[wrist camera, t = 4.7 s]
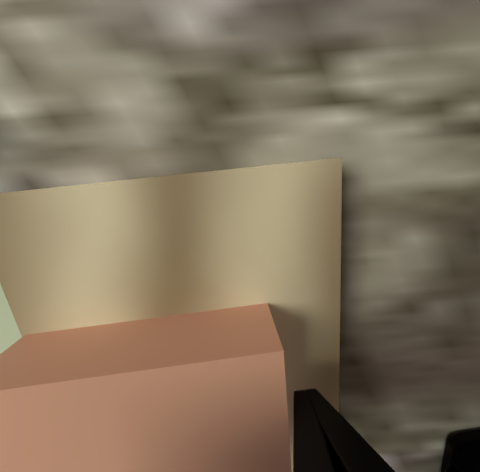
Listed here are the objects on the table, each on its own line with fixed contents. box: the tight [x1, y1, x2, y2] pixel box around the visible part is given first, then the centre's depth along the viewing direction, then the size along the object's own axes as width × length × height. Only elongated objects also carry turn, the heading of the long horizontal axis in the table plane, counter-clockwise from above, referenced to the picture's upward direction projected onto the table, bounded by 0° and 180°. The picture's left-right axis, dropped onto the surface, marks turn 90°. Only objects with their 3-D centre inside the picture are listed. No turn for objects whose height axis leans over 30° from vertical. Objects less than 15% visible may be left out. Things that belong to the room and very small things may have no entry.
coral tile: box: [0, 303, 292, 472], centre depth 8 cm, size 9×6×2 cm, turn 96°
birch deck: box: [0, 158, 342, 472], centre depth 10 cm, size 12×16×2 cm
